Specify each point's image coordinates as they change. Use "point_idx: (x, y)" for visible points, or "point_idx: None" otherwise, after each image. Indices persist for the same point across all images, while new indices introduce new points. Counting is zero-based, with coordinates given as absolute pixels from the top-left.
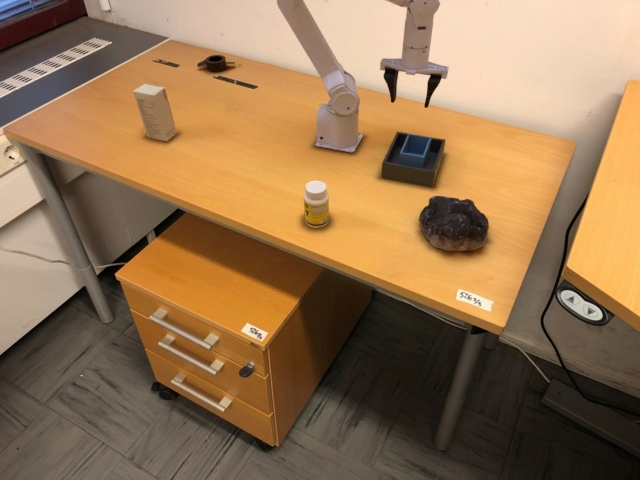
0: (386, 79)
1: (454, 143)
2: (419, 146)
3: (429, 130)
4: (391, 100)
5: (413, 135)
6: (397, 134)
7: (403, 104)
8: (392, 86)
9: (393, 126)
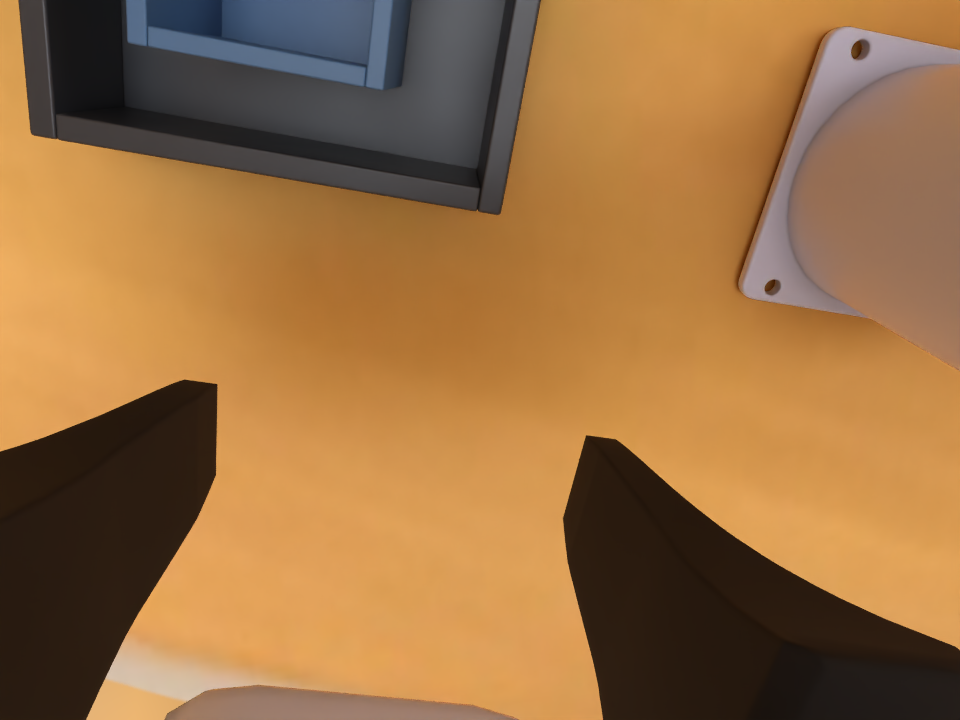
0: (890, 634)
1: (66, 297)
2: (276, 48)
3: (272, 432)
4: (622, 446)
5: (326, 59)
6: (493, 161)
7: (469, 674)
8: (696, 552)
9: (518, 443)
